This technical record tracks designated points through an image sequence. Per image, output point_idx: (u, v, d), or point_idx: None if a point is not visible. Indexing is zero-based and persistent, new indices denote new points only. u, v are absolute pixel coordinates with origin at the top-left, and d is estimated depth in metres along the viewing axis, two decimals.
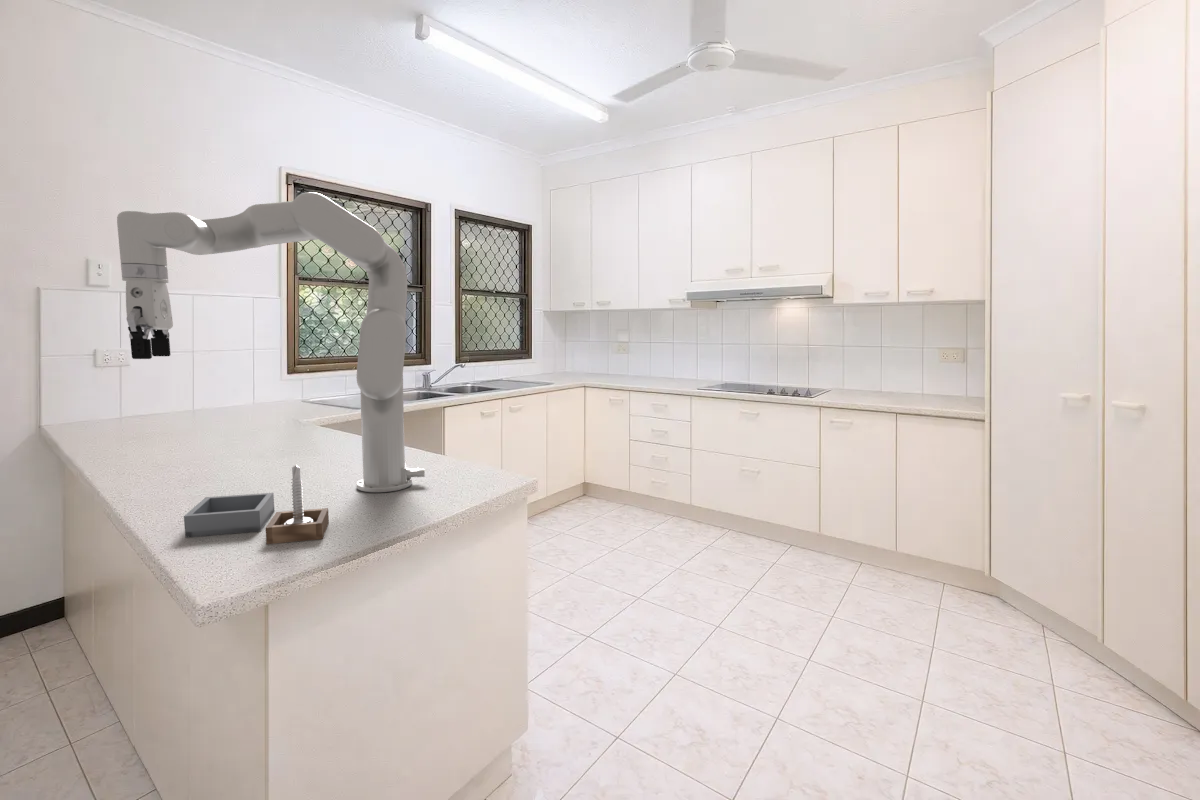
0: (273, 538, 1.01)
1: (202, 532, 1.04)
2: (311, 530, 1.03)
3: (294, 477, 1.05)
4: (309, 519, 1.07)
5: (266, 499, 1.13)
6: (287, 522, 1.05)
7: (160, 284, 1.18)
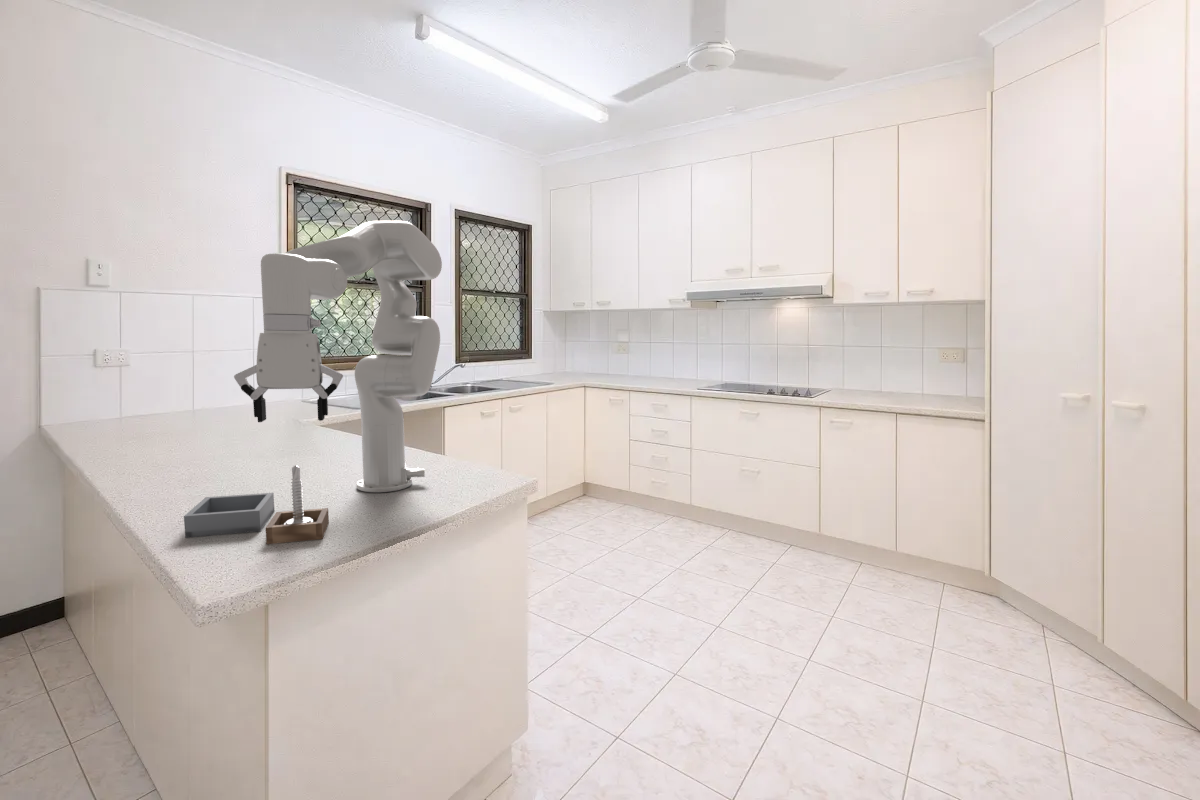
0: (273, 538, 1.01)
1: (202, 532, 1.04)
2: (311, 530, 1.03)
3: (294, 477, 1.05)
4: (309, 519, 1.07)
5: (266, 499, 1.13)
6: (287, 522, 1.05)
7: None
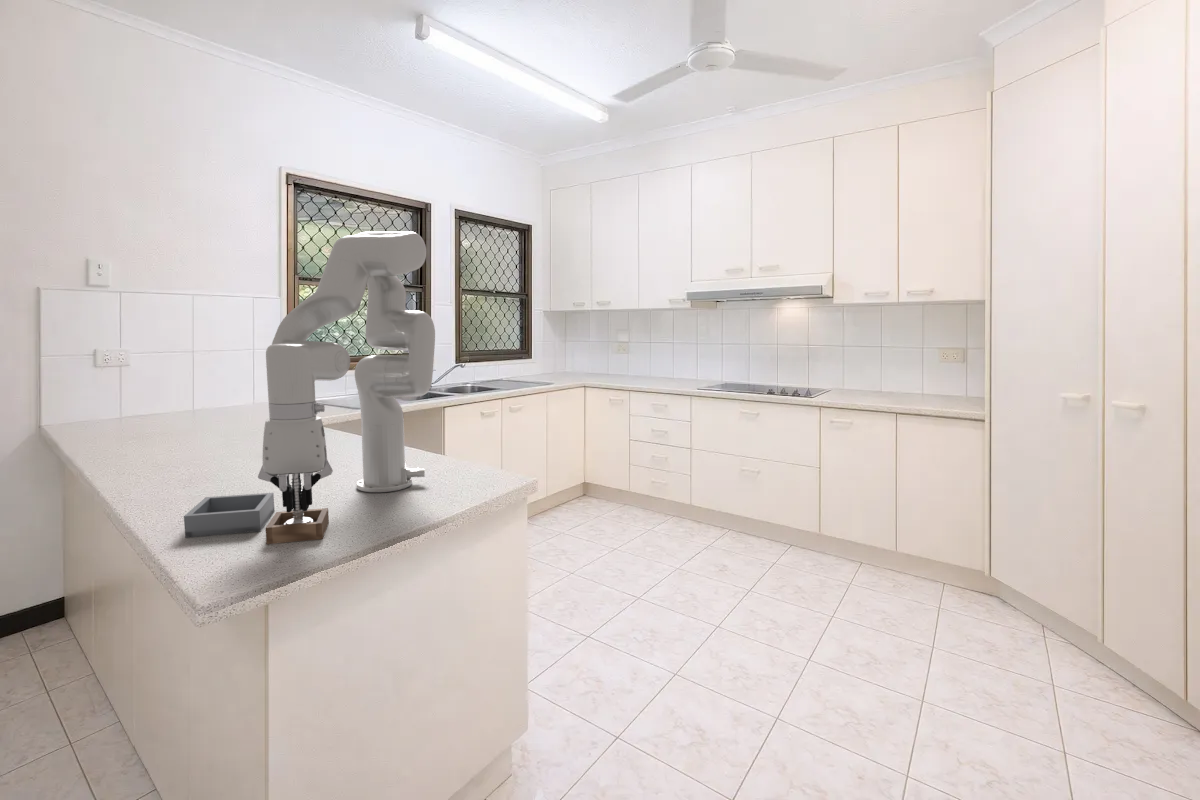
0: (273, 538, 1.01)
1: (202, 532, 1.04)
2: (311, 530, 1.03)
3: (294, 477, 1.05)
4: (309, 519, 1.07)
5: (266, 499, 1.13)
6: (287, 522, 1.05)
7: None
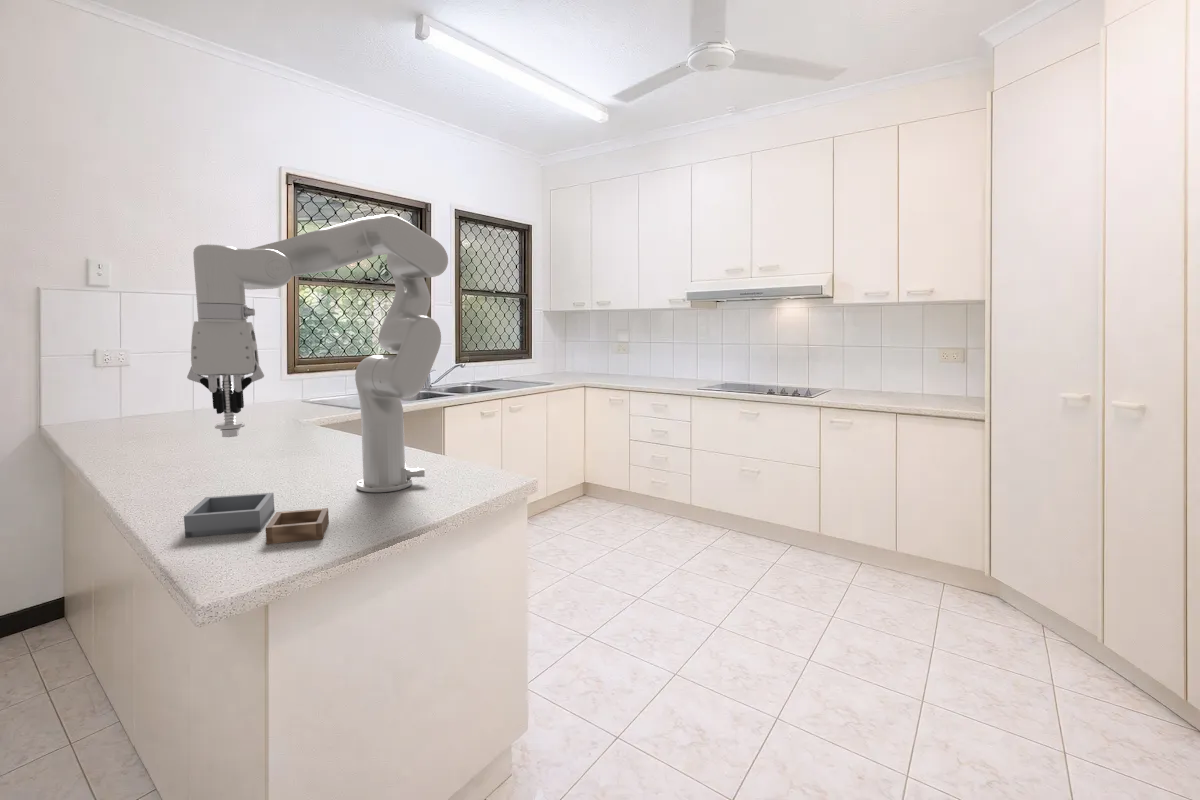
0: (273, 538, 1.01)
1: (202, 532, 1.04)
2: (311, 530, 1.03)
3: (224, 379, 1.06)
4: (240, 423, 1.09)
5: (266, 499, 1.13)
6: (218, 424, 1.07)
7: None
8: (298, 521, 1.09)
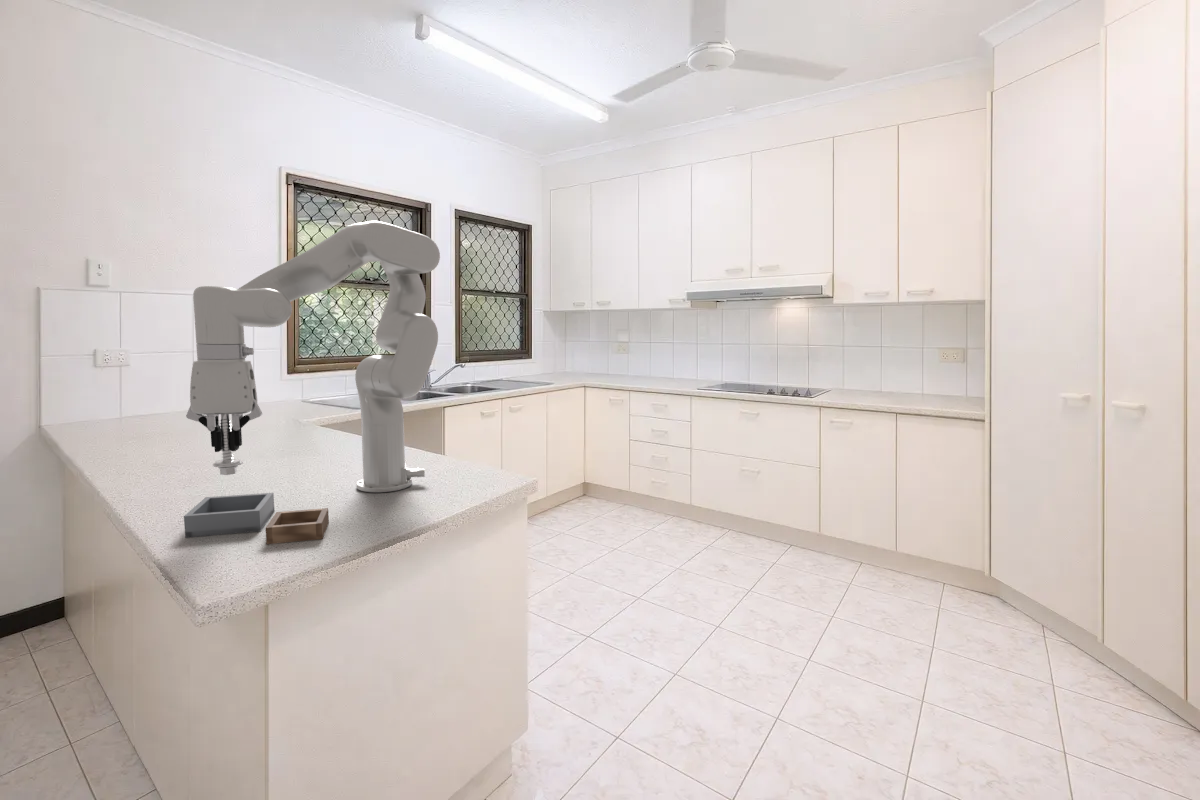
0: (273, 538, 1.01)
1: (202, 532, 1.04)
2: (311, 530, 1.03)
3: (222, 418, 1.07)
4: (238, 460, 1.10)
5: (266, 499, 1.13)
6: (216, 462, 1.08)
7: None
8: (298, 521, 1.09)
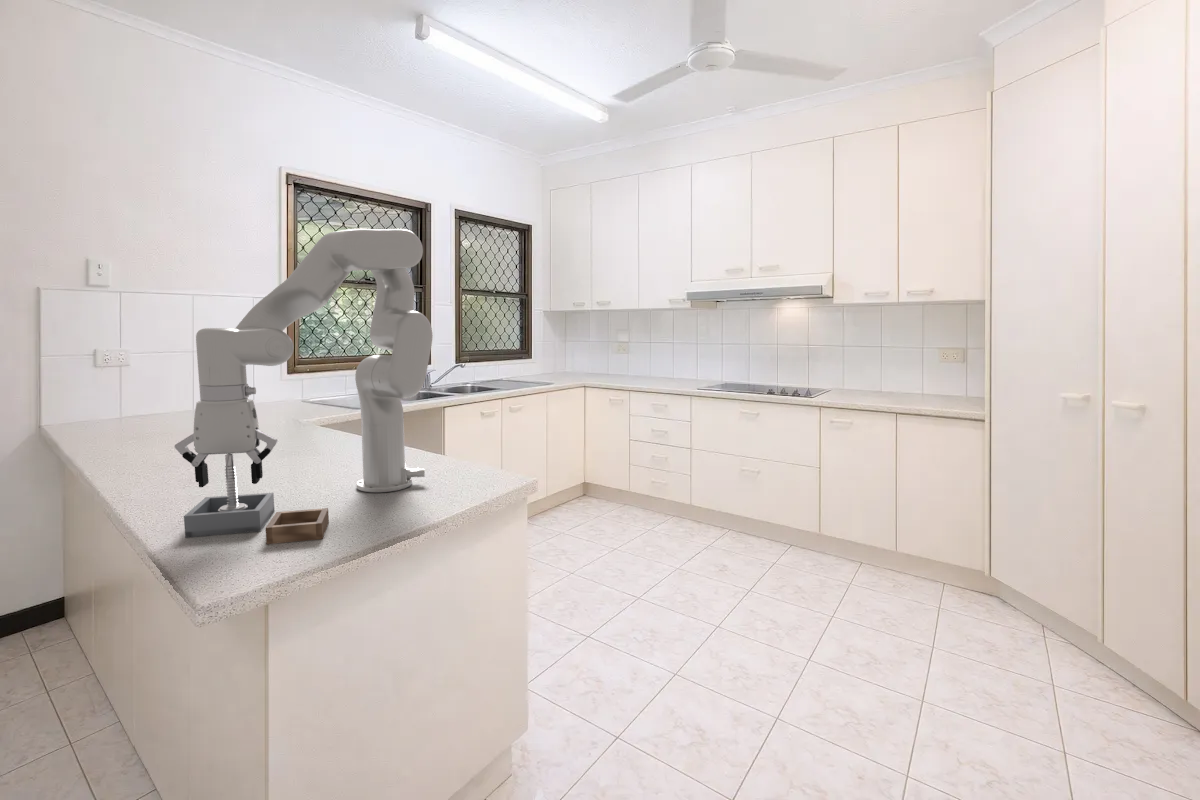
0: (273, 538, 1.01)
1: (202, 532, 1.04)
2: (311, 530, 1.03)
3: (227, 464, 1.09)
4: (243, 505, 1.11)
5: (266, 499, 1.13)
6: (221, 508, 1.09)
7: None
8: (298, 521, 1.09)
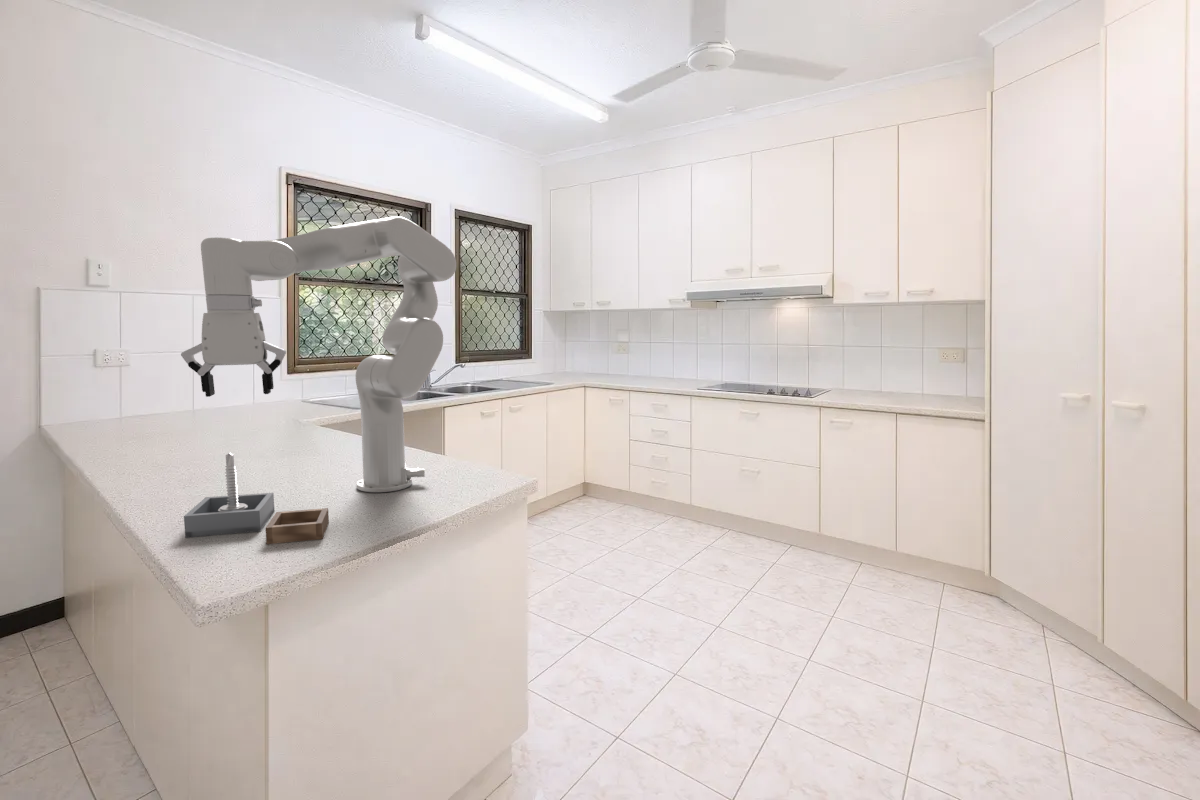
0: (273, 538, 1.01)
1: (202, 532, 1.04)
2: (311, 530, 1.03)
3: (227, 464, 1.09)
4: (243, 505, 1.11)
5: (266, 499, 1.13)
6: (221, 508, 1.09)
7: None
8: (298, 521, 1.09)
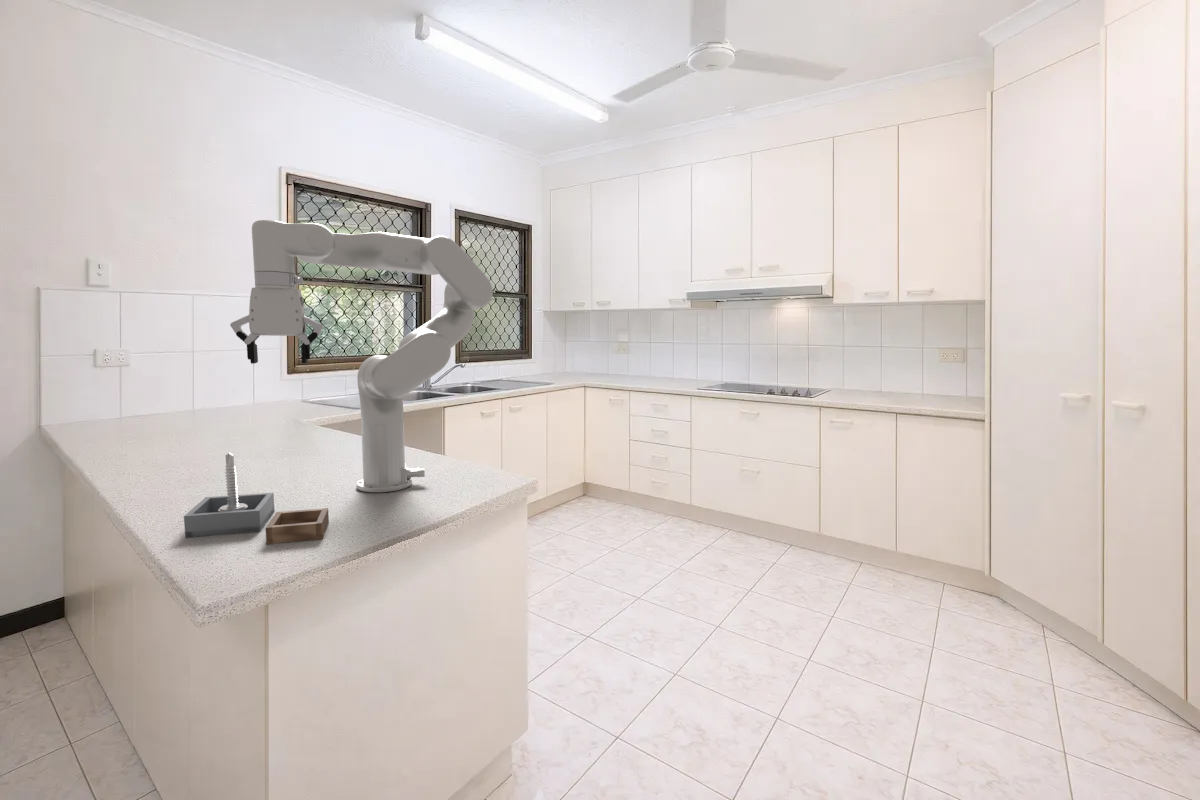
0: (273, 538, 1.01)
1: (202, 532, 1.04)
2: (311, 530, 1.03)
3: (227, 464, 1.09)
4: (243, 505, 1.11)
5: (266, 499, 1.13)
6: (221, 508, 1.09)
7: None
8: (298, 521, 1.09)
